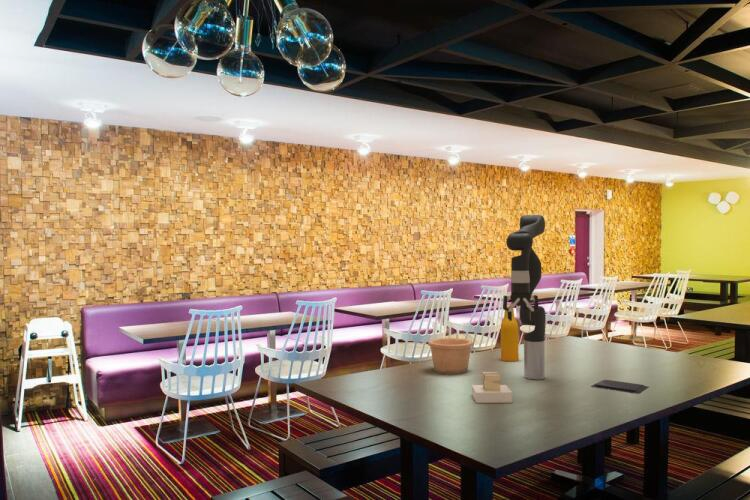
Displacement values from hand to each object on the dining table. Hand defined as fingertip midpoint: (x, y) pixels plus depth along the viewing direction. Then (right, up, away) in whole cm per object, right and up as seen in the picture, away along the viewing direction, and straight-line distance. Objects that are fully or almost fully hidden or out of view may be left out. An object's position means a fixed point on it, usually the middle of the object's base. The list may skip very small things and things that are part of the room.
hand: (520, 320), depth 236 cm
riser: (-14, -30, -8) cm, 34 cm away
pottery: (-23, -31, +44) cm, 58 cm away
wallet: (+44, -30, +8) cm, 54 cm away
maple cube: (-14, -26, -8) cm, 31 cm away
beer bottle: (+12, -30, +68) cm, 75 cm away
